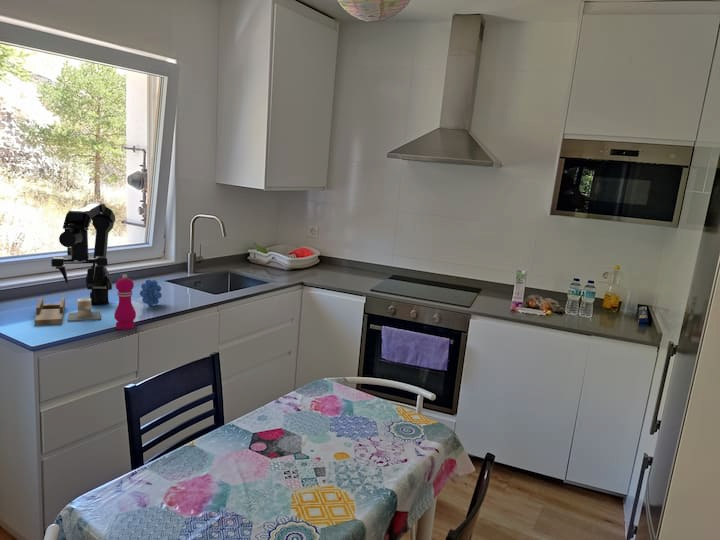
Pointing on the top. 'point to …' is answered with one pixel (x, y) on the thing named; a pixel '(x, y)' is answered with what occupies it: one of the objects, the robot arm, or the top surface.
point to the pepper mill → (125, 304)
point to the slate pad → (74, 316)
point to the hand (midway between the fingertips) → (80, 283)
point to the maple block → (84, 307)
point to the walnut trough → (49, 313)
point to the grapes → (150, 292)
